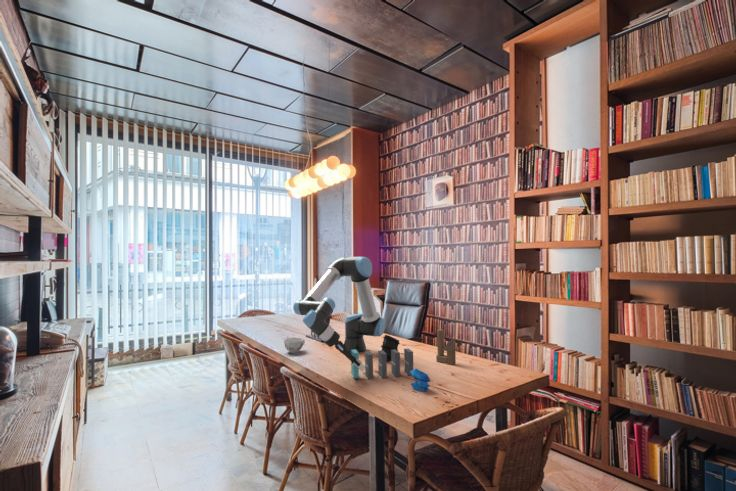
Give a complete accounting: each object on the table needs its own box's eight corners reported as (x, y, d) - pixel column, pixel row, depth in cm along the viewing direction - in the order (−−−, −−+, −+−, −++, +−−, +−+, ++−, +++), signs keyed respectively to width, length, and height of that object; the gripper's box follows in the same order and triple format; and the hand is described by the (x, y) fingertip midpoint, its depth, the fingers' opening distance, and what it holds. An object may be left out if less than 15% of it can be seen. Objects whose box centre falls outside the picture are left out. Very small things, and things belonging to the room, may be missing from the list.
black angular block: (376, 360, 207) (383, 334, 212) (390, 366, 216) (397, 340, 221) (381, 361, 205) (388, 335, 210) (395, 367, 213) (402, 341, 218)
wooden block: (452, 365, 202) (451, 332, 202) (436, 361, 210) (435, 329, 210) (456, 364, 204) (455, 331, 205) (440, 360, 212) (439, 329, 213)
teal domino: (353, 378, 178) (353, 353, 178) (351, 373, 185) (351, 349, 185) (359, 377, 179) (358, 352, 179) (356, 373, 185) (355, 349, 186)
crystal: (429, 379, 159) (405, 368, 166) (425, 397, 160) (401, 386, 167) (436, 374, 165) (413, 364, 172) (432, 392, 166) (409, 381, 173)
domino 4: (408, 376, 184) (408, 352, 185) (404, 371, 191) (404, 348, 192) (413, 375, 185) (413, 351, 185) (408, 371, 192) (408, 348, 192)
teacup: (291, 355, 225) (291, 342, 225) (279, 352, 233) (279, 339, 234) (310, 351, 236) (310, 338, 237) (298, 348, 245) (298, 335, 245)
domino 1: (368, 379, 180) (368, 355, 180) (365, 375, 186) (364, 351, 187) (373, 379, 180) (373, 354, 181) (369, 374, 187) (369, 351, 187)
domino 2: (382, 378, 181) (381, 354, 182) (378, 374, 188) (378, 350, 188) (386, 378, 182) (386, 353, 182) (383, 373, 189) (382, 350, 189)
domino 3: (395, 377, 183) (395, 353, 183) (391, 373, 190) (391, 349, 190) (400, 376, 183) (399, 352, 184) (395, 372, 190) (395, 349, 191)
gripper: (321, 337, 188) (353, 367, 192) (326, 346, 169) (361, 379, 172) (332, 326, 190) (362, 356, 193) (337, 334, 170) (372, 367, 174)
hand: (362, 367), depth 183 cm, fingers closed on teal domino, 7 cm apart
